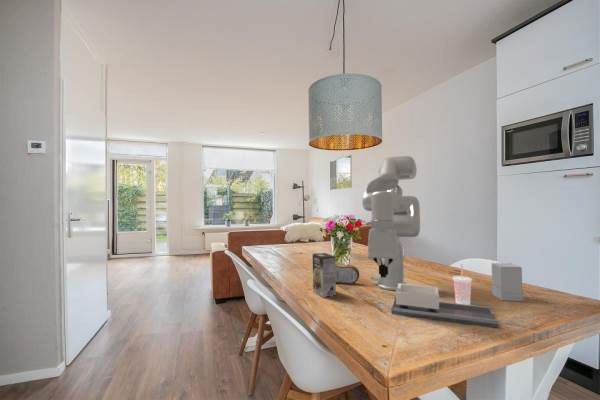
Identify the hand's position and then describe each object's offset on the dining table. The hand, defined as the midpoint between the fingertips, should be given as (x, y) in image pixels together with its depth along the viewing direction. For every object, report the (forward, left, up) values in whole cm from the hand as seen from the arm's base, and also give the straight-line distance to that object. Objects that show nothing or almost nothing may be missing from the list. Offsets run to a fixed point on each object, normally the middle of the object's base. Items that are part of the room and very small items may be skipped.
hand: (383, 276), depth 101 cm
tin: (-22, +25, -11) cm, 35 cm away
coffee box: (-25, +7, -11) cm, 28 cm away
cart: (+11, +1, -10) cm, 15 cm away
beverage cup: (+26, +15, -11) cm, 32 cm away
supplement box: (+42, +27, -11) cm, 51 cm away
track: (+18, +1, -11) cm, 21 cm away
